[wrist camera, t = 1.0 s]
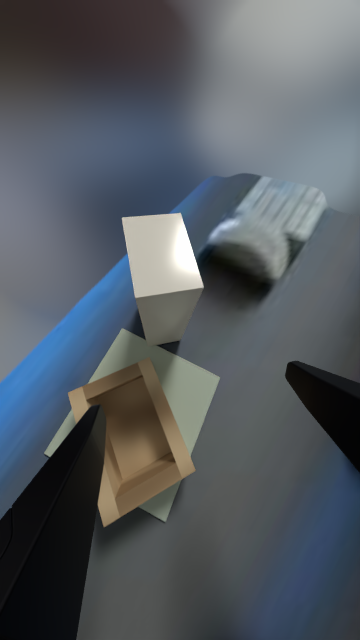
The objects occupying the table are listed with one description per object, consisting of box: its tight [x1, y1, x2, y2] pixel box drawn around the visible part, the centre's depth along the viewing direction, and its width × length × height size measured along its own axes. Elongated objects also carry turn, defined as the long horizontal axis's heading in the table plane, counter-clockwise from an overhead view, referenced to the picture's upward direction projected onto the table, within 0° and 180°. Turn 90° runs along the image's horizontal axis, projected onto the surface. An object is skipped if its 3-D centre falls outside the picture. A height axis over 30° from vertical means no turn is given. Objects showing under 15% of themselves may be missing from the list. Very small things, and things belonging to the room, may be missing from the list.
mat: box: [44, 328, 220, 522], centre depth 20 cm, size 14×13×1 cm
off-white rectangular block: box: [122, 213, 204, 347], centre depth 17 cm, size 6×4×12 cm, turn 13°
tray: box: [68, 357, 196, 527], centre depth 17 cm, size 10×8×4 cm
